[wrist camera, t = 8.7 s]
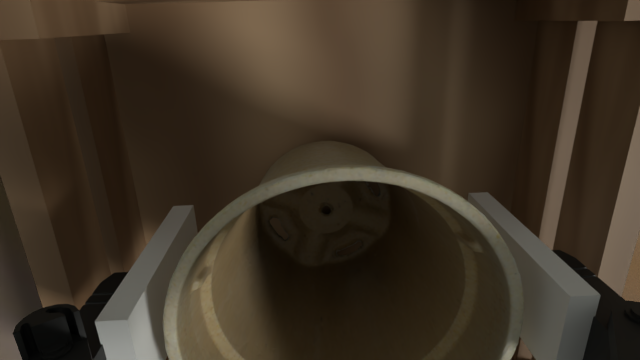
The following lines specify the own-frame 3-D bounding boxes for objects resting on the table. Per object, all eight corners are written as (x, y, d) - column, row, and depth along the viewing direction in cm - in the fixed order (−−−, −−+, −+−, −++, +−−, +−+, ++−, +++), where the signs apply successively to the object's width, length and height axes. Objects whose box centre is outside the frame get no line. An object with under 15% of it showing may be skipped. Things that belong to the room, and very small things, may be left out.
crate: (159, 360, 23) (102, 495, 16) (77, -22, 16) (-73, -50, 10) (498, 341, 24) (575, 464, 17) (557, -34, 17) (722, -69, 10)
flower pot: (311, 51, 17) (322, 80, 9) (472, 188, 19) (598, 310, 11) (181, 218, 19) (92, 365, 11) (338, 321, 21) (361, 503, 13)
